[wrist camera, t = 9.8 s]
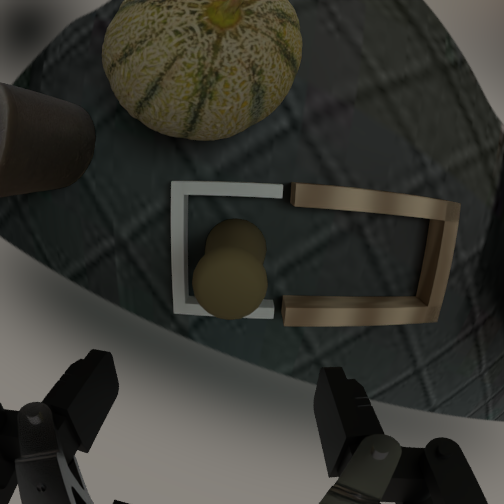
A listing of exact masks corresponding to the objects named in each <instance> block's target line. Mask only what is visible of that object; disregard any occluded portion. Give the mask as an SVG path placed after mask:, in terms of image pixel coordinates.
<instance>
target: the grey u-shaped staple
mask: <svg viewBox="0 0 504 504" xmlns="http://www.w3.org/2000/svg"><path fill="white" fill-rule="evenodd" d="M188 195H219V196H245V197H266V198H282V196H283V185H282V184H272V183H253V182H228V181H171V261H172V288H173V307H174V314H187V315H202V316H213V315H211V314H209V313H208V312H207V311H205V310H204V309H203V308H202V307H201V306H200V305H199V303H198V301H197V299H196V298H195V296H189V290H188ZM243 318H262V319H273V318H274V303H273V300H265V299H263V301H262V302H261V304H260V306H259V307H258V308H257V309H256V310H255V311H254V312H252V313H251V314H250V315H248V316H245V317H243Z"/></svg>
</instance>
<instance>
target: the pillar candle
mask: <svg viewBox="0 0 504 504" xmlns="http://www.w3.org/2000/svg"><path fill="white" fill-rule="evenodd" d="M95 139H96V138H95V128H94V124H93V121H92V119H91V117H90V115H89V114H88V112H87V111H86V110H85V109H83V108H82V107H81V106H79V105H76V104H73V103H70V102H67V101H64V100H61V99H57V98H54V97H51V96H47V95H44V94H41V93H37V92H34V91H31V90H27V89H24V88H20V87H16V86H13V85H9V84H5V83H0V198H1V197H7V196H12V195H18V194H26V193H31V192H38V191H46V190H52V189H60V188H62V187H67V186H69V185H71V184H73V183H74V182H76V181H77V179H79V178H80V177H81V176H82V175H83V173H84V172H85V171H86V169H87V168H88V166H89V164H90V162H91V159H92V157H93V154H94V147H95Z"/></svg>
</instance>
